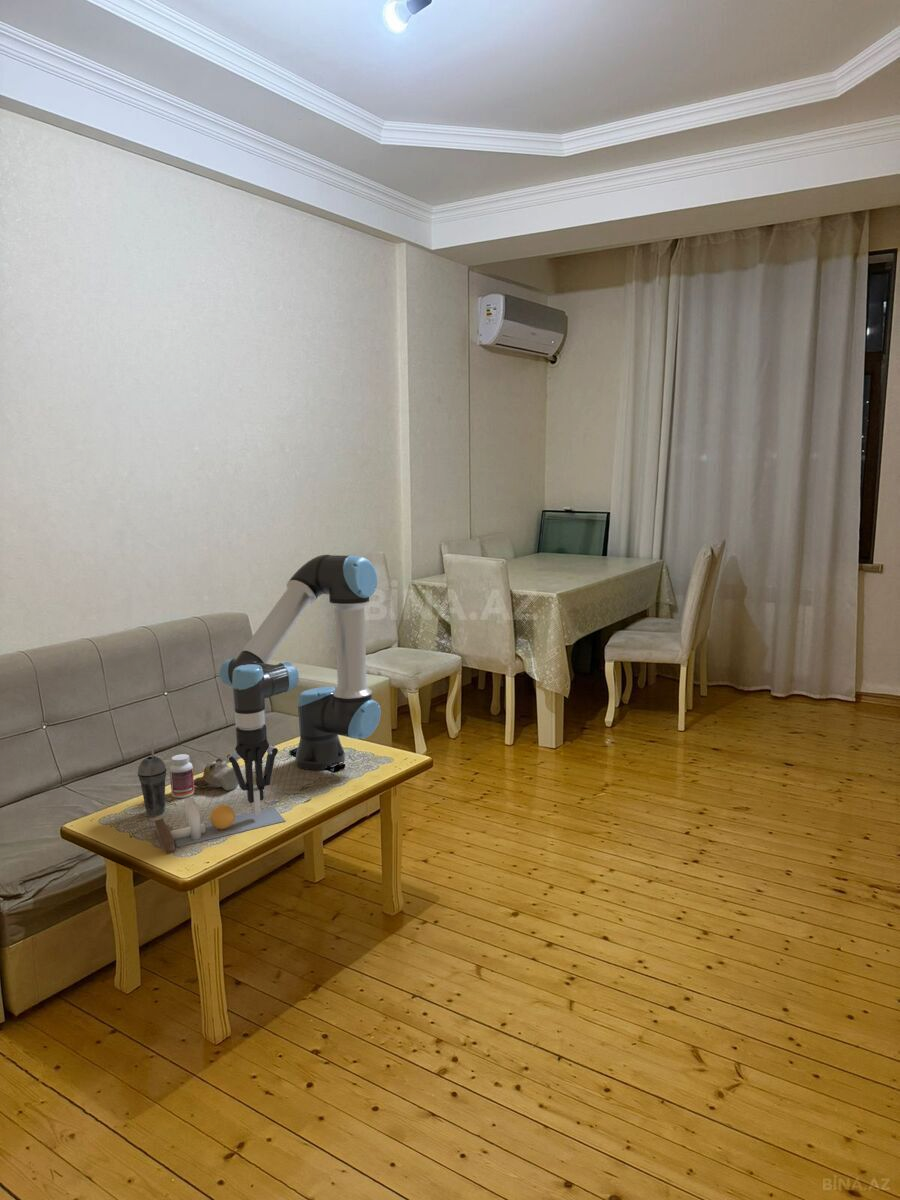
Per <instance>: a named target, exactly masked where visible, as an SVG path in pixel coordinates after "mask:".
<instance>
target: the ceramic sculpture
mask: <svg viewBox="0 0 900 1200" xmlns="http://www.w3.org/2000/svg"><path fill="white" fill-rule="evenodd" d="M238 786H239V784H238V781H237V778H236V775H235V772H234V769H233V766H229V764H228V763H227V762H226V761H225V760H224V759H221V758H217V759H215V761H212V762H210V763H208V764H206V766H205V767H204V768H203V776H200V777H199V776H198V777H197V778H194V787H197V788H206V787H211V788H223V789H224V790H226V791H233V790H235V789H236V788H237V787H238Z"/></svg>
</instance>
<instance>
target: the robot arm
mask: <svg viewBox="0 0 900 1200" xmlns="http://www.w3.org/2000/svg"><path fill="white" fill-rule="evenodd" d="M377 586H378V575H377V571H376V568H375V566H374V564H373V563H371V561H370V560H369V559H368V558H365V557H362V556H357V555H335V554H333V555H331V554H321V555H317V556H316V557H314V558H312V559H309V560H308V561H307V562H306V563H304V564H303V565H302V566H301V567H300V568H299V569H297V571H296V572H295V573H294V574H293V575H292V576H291V578H290V579H289V580H288V582H287V583H286V588H287V589H286V590H285V592H284V593H283V595H281V597H280V599H279V600H277V602H276V604H275V605H274V606H273V607H272V609H271V611H270V612H269V613H268V615H267V616H266V617H265V619H264V620H263V621H262V623H261V624H260V626H259V627H258V628H257V630H256V631H255V633H254V634H253V635H252V637H251V638H250V639H249V641H248V642H247V643H246V645H245V646H244V648H243V649H242V650H241V652H240V653H239V654H238V655H237V658H233V657H232V658H229V659H227V660H224V662H223V663H222V664H221V666H220V668H219V678H220V680H221V682H222V683H223V684H224V685H226V686H230V687H232V691H233V693H232V695H233V704H234V717H235V720H234V721H235V726H236V729H235V735H236V736H235V737H236V747H235V749H234V752H233V753H231V754H227V756H226V758H227V760H228V761H229V763H231V765H232V766H231V767H233V769H234V772H235V775H236V778H237V781H238V786H239V788H240V789H241V791H246V792H247V800H248V802H249V803H250V804H251V809H252V811H251V812H253V813H254V814H255V815H259V814H261V810H262V808H261V801H264V789H265V787H267V786H270V785H271V780H272V776H273V771H274V770H273V768H274V763H275V758H276V756H277V754H278V753H279V749H278V748H277V747H276V746H274V745H273V746H272V745H270V743H269V741H268V738H267V737H268V736H267V735H268V734H267V725H266V723H267V720H266V718H267V717H266V701H265V699H268V698H271V697H273V696H274V697H275V696H277V695H279V694H280V695H281V694H283V693H287V692H289V691H291V690H293V689H294V688H296V687H297V685H298V683H299V681H300V678H299V671H298V669H297V667H296V666H295V665H294V664H292V663H291V662H279V663H278V664H270V663H268V662H269V661H270V659H272V657H273V655H274V654H275V653H276V652H277V649H278V647H280V645H281V644H282V642H283V641H284V640H285V638H286V637H287V635H288V634H289V632H290V631H291V630H292V628H293V627H294V625H295V624H296V623H297V621H298V620H299V618H300V617H301V616H302V614H303V612H304V611H305V610H306V608H307V607H308V606H309V605H310V604H311V605H312V604H313V603H315V602H316V600H317V599H318V598H319V597H320V596H323V595H328V596H329V597H328V598H329V604H331V606H332V607H333V608H334V614H335V615H334V617H335V618H334V621H335V645H336V646H335V647H336V648H335V649H336V676H337V677H336V678H337V679H336V681H337V682H336V683H337V686H336V687H337V688H335V687H334V686H320V687H315V688H310V689H307V690H304V691H302V692H301V693H299V695H298V698H297V701H298V702H297V703H298V705H297V710H298V712H297V713H298V724H299V742H298V746H297V749H296V754H295V765H296V766H297V767H298V768H300V769H302V770H303V769H304V770H308V771H322V770H326V769H325V768H326V767H327V766H328V765H330V764H332V763H335V762H343V763H344V762H345V761H346V756H345V755H346V754H345V750H344V747H343V746H342V745H343V744H342V742H341V740H340V738H339V735H340V736H343V737H349V738H350V739H351V738H352V739H355V738H356V739H366V738H368V737H370V736H371V735H373V733H374V732H375V731H376V729H377V727H378V725H379V724H380V719H381V713H382V711H381V706H380V704H379V703H378V702H377V701H376V700H374V699H373V691H372V690H371V689H370V688H369V687H368V684H367V683H368V682H367V650H366V649H367V648H366V621H365V620H366V618H365V617H366V615H365V607H366V606H367V605H368V604H369V603H370V597H371V596H372V595H374V593H375V592H376V588H377ZM266 753H267V755H266ZM265 755H266V760H265V761H266V762H265V767H264V773H263V758H264V756H265ZM239 757H240V758H241V759H242V761H244V773H245V779H244V776H243V774H242V770H241V767H240V764H239V762H238V761H239ZM253 762H254V769H255V770H254V771H255V772H254V773H255V783H256V786H255V787H254V773H253Z"/></svg>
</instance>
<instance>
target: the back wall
mask: <svg viewBox="0 0 900 1200" xmlns="http://www.w3.org/2000/svg"><path fill="white" fill-rule="evenodd" d="M154 829H155V833H156V835H157V837H158V840H159V842H160V844H161V846H162V848H163V851H164V852H165V854H166V855H168V854H171V853H175V852H176V851H175V849H176V848H175V841H174V839H173V837H172V835H171V833H170V831H171V830H170V829H169V828H168V825H167V824H166V821H165V820H164V818H160V819H156V820H154Z"/></svg>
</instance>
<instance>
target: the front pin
mask: <svg viewBox="0 0 900 1200" xmlns="http://www.w3.org/2000/svg"><path fill="white" fill-rule="evenodd" d="M204 823H205V822H203V824H202V823H200V826H201V833H205V832H206V829H205V824H204ZM169 831H170V833H171V835H172V837H173V839H174V840H176V839H180V838H184V837H189V836H191V829H190V826H189V827H187V826H185V827H182V828H177V829H172V830H169Z"/></svg>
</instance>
